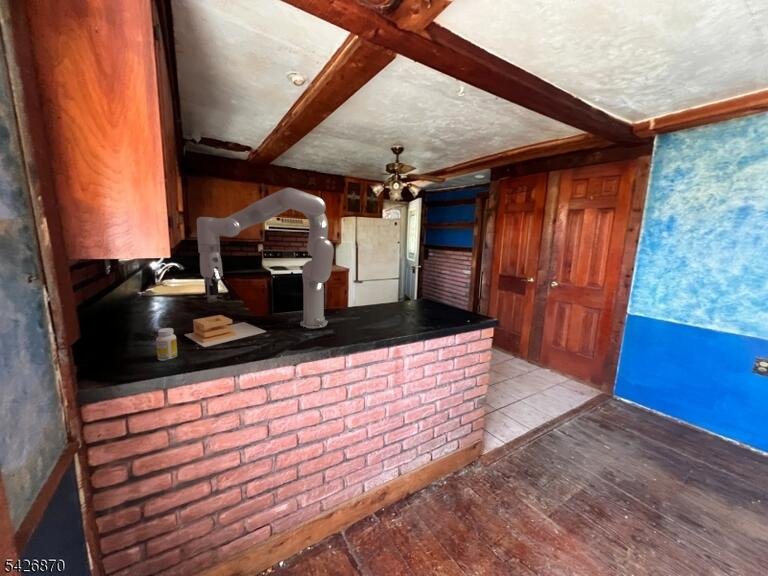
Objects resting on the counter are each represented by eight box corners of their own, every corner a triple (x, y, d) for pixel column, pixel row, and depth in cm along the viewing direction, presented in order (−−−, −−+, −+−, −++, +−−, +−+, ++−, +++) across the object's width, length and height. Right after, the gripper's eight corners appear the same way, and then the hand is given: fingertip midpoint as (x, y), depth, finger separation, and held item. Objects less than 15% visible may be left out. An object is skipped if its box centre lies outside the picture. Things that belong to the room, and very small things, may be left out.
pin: (218, 301, 127) (216, 277, 125) (209, 302, 125) (208, 278, 123) (214, 300, 129) (213, 276, 127) (206, 301, 127) (204, 277, 125)
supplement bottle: (160, 362, 104) (157, 333, 102) (155, 357, 108) (152, 329, 106) (180, 357, 108) (177, 330, 107) (174, 353, 112) (172, 326, 110)
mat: (267, 332, 138) (267, 331, 138) (204, 348, 117) (204, 347, 117) (244, 323, 150) (244, 322, 150) (183, 336, 130) (183, 334, 129)
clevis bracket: (236, 335, 131) (235, 319, 130) (203, 343, 121) (202, 326, 120) (223, 328, 139) (222, 314, 137) (191, 335, 128) (189, 320, 127)
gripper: (228, 250, 121) (230, 296, 124) (210, 247, 131) (212, 290, 134) (208, 250, 115) (211, 298, 118) (190, 247, 125) (193, 292, 128)
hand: (211, 293), depth 126 cm, fingers closed on pin, 3 cm apart
